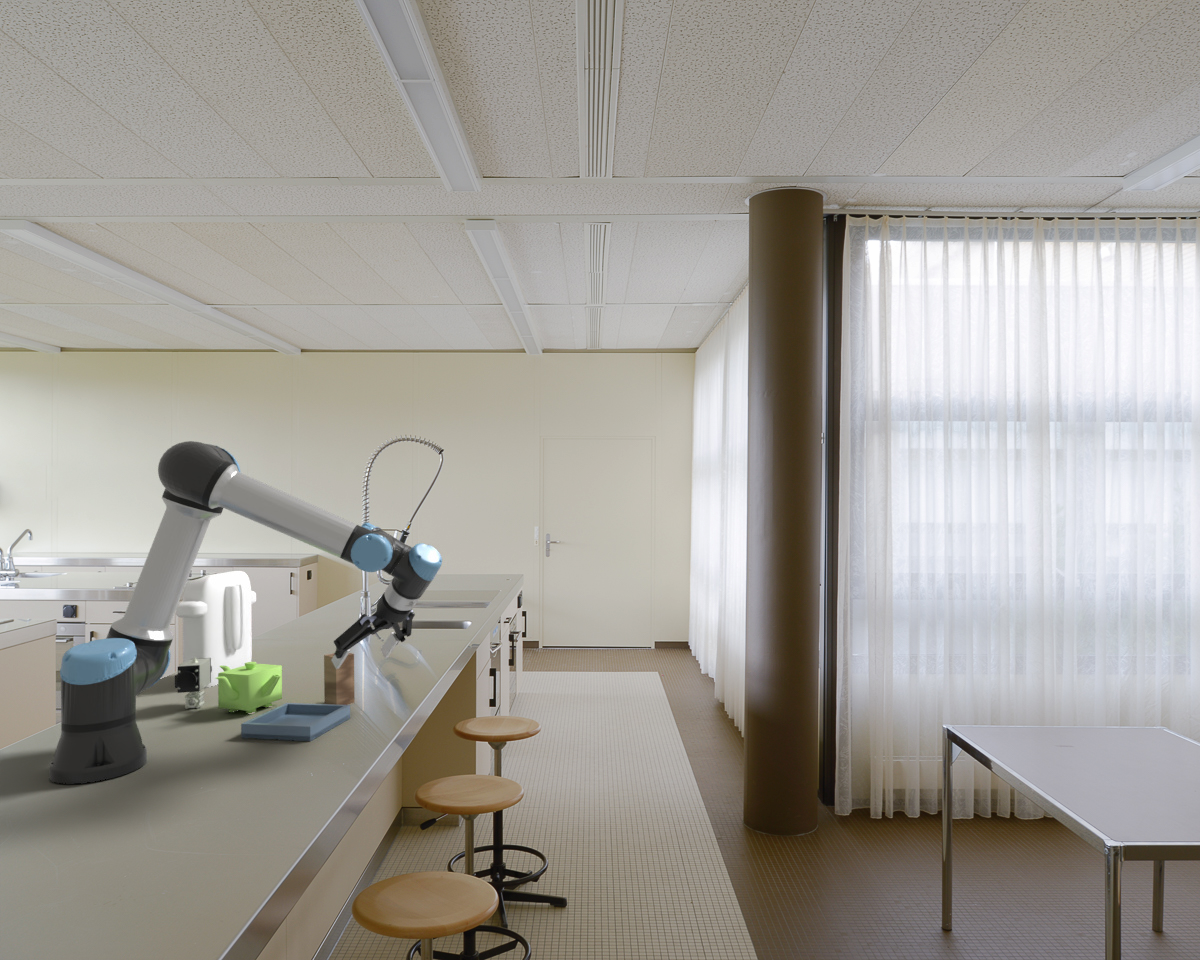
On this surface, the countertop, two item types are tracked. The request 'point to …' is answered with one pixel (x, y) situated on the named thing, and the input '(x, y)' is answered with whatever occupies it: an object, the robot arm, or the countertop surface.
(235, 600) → the toaster
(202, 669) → the pneumatic valve
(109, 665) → the robot arm
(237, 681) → the kettle
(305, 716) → the tray
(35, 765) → the countertop surface
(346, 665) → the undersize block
